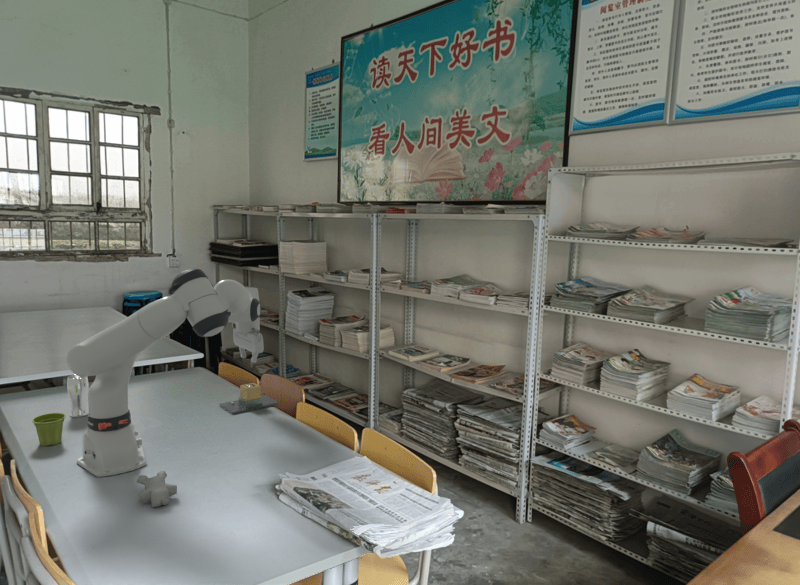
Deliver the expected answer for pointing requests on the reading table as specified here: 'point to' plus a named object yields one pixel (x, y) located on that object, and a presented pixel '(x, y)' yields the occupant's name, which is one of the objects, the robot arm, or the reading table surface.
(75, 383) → the beer glass
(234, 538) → the reading table surface
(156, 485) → the grey chunky knobbed piece
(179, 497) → the reading table surface
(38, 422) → the plant pot
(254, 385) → the tan square sleeve
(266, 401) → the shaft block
